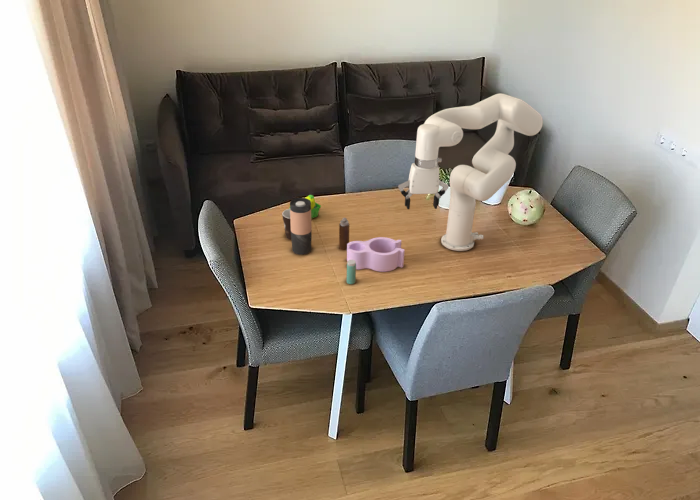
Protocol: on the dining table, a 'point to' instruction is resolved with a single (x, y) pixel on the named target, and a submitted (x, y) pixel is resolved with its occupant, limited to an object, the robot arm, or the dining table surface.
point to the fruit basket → (313, 206)
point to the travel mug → (301, 225)
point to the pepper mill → (343, 234)
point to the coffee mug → (287, 223)
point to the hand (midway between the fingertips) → (421, 207)
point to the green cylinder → (351, 272)
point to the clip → (376, 254)
